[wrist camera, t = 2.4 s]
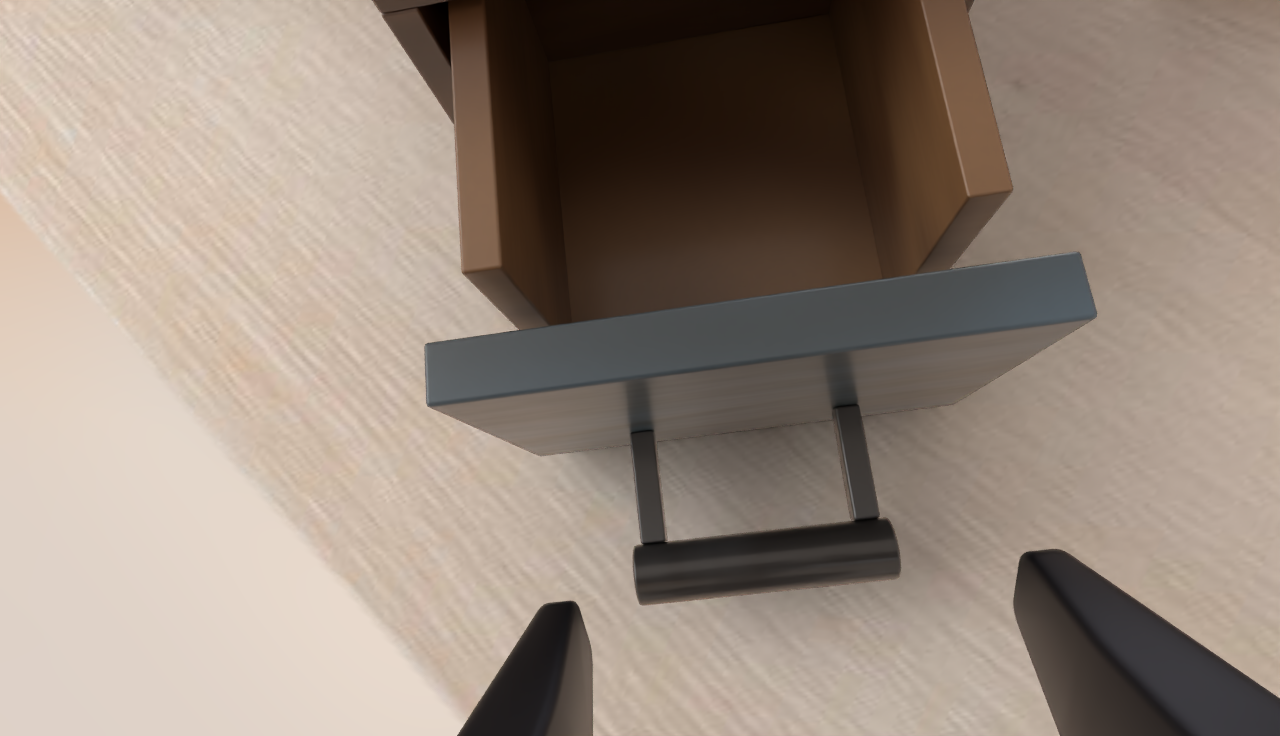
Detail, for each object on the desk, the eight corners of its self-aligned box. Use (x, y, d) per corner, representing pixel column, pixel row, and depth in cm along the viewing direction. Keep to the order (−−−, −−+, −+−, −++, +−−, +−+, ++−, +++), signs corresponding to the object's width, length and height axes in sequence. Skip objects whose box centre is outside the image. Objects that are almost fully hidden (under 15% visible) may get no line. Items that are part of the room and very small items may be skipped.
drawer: (990, 563, 18) (1173, 580, 11) (549, 609, 19) (432, 653, 12) (869, 8, 22) (940, -264, 15) (509, 72, 23) (404, -153, 16)
